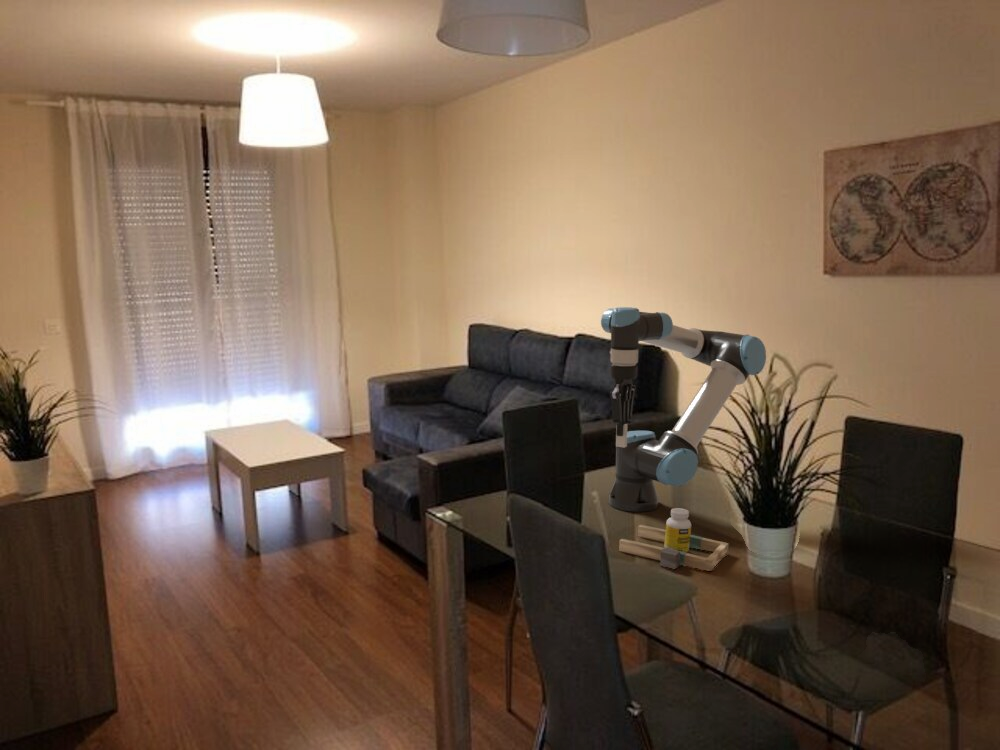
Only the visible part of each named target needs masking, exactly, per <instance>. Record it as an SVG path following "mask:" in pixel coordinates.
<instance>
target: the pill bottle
mask: <svg viewBox="0 0 1000 750" xmlns="http://www.w3.org/2000/svg"><path fill="white" fill-rule="evenodd" d="M689 515H690V511H689V510H688V509H685V508H679V507H674V508H671V510H670V516H671V517H669V518H668V519H666V523H665V530H666V531H665V542H663V543H664V545H663V548H669V549H673V550H678V551H682V552H686V553H688V554H690V553H689V552H690V548H689V544H690V535H692V534H691V532H692V523H691V521H690V519H688V518H689V517H690V516H689Z"/></svg>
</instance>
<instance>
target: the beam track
mask: <svg viewBox="0 0 1000 750" xmlns="http://www.w3.org/2000/svg"><path fill="white" fill-rule="evenodd" d="M665 531H666V529H663V528H659V527H653V526H649V525H644V524H639V525H638V526H637V537H639V538H642V539H643V538H644V539H648V540H653V541H657V542H662V543H665ZM618 545H619V546H618V549H619V550H618V551H619V552H622V553H627V554H629V555H630V554H631V555H635V556H639V557H643V558H648V559H652V560H656V561H660V563H659V565H660V567H661V566H663V567H662V568H665V567H671V568H674V569H675V568H676V567H678V566H679V565H680V566H681V565H685V566H684V567H686V566H689V567H688V568H690V567H696V568H701V569H702V568H703V569H709V570H711V569H712V568H714V566H716V564H717V563H718V562H719V561H720V560H721V559H722V557H723V556H724V555H725V553H726V552H727V551H728V552H729V542H728V543H727V542H724V541H722V540H721V541H720V540H719V541H718V540H714V539H711V538H707V537H702V536H699V535H693V534H690V544H689V549H693V548H696V549H695V550H697V549H701V550H700V551H702V550H708V551H714V552H713V553H710V554H709V555H708V557H705V556H701V555H698V554H693V553H686V552H682V551H678V550H673V549H669V548H664V547H661V546H657V545H652V544H649V543H643V542H638V541H635V540H630V539H626V538H620V539H619V544H618ZM680 566H679V567H680ZM679 567H678V568H679ZM716 567H717V566H716ZM714 569H715V568H714Z"/></svg>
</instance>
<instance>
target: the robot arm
mask: <svg viewBox="0 0 1000 750" xmlns="http://www.w3.org/2000/svg"><path fill="white" fill-rule="evenodd" d="M600 325H601V328H602V329H603V331H604V332H605V333H608V334H610V350H609V354H610V362H611V364H609V365H610V366H609V377H610V378H611V379H614V384H613V390H612V391H609V398H610V405H611V406H610V407H611V418H612V424H613V425H616V427H615V429H616V431H615V475H614V476H615V479H614V482H613V485H612V488H611V490H610V493H609V495H608V496H609V498H608V504H609V505H610V506H611V507H613V508H615V509H617V510H621V511H625V512H634V513H635V512H641V513H642V512H649V511H652V510H655V509H657V508H658V506H659V496H658V493H657V490H656V485H655V483H654V481H656V482H658V483H661V484H662V485H664V486H670V487H675V488H677V487H682V486H685V485H687V484H688V483H689V482H691V481H692V480H693V478H694V477H695V475H696V474H697V471H698V467H697V466H698V465H699V459H698V458H699V457H698V455H699V451H698V445H699V444H700V442H701V440H702V439H703V438H704V436H705V434H706V433H707V431H708V430H709V428H710V426H712V423H713V422H714V420H715V419H716V418H717V416H718V414H719V413H720V411H721V410H722V408H723V407H724V405H725V403H726V402H727V401H728V398H729V397H730V396H731V394H732V393H733V391H734V390H735V388H736V386H738V385H743V384H744V383H746V381H747V379H748V377H749V376H756V375H759V374H760V373H761V372H762V371H763V369H764V368H765V365H766V363H767V354H766V353H767V350H766V346H765V344H764V342H763V341H762V339H761V338H759V337H757V336H754V335H750V334H741V333H739V334H738V333H734V332H733V333H732V332H725V331H720V330H719V331H718V330H704V329H698V328H697V327H695V328H694V327H693V328H689V329H688V328H684V327H681V326H678V325H674V322H673V320H672V317H671V316H670V315H669V314H668V313H666V312H657V311H656V312H646V311H640V309H639V308H637V307H627V306H626V307H625V306H623V307H622V306H621V307H615V308H607V309H606V310H605V311H604V312H603V313H602V316H601V320H600ZM639 342H643V343H646V344H650V345H653V346H656V347H660V348H664V349H668V350H671V351H675V352H677V353H681V355H682V356H683V357H684V358H688V359H690V360H692V361H693V360H694V361H696V362H698V363H701V364H703V365H706V366H709V367H711V371H710V373H709V374H707V375H708V376H707V377H706V379H704V382H703V383H702V385H701V386H700V388H699V389H698V390H697V392H696V393H695V395H694V397H693V398H692V399H691V401H690V403H689V404H688V405H687V407H686V409H685V410H684V412H683V413H682V414H681V416H680V418H679V419H678V421H677V422H676V423H675V425H674V427H673V428H672V430H667V431H664V432H663V434H662V435H661V437H660V438H659V440H658V439H656V437H657V435H656V434H655V433H656V432H654V431H650V430H629V431H628V424H630V425H631V424H632V421H631V420H632V416H633V408H634V400H635V393H636V388H637V386H636V385H633V380H635V379H637V377H638V365H637V364H638V363H639Z"/></svg>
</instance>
